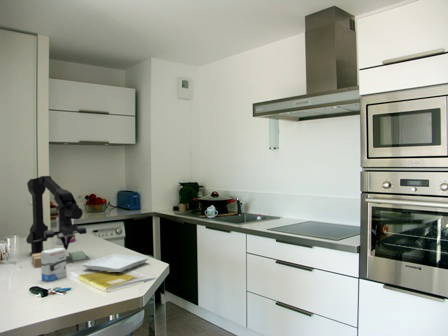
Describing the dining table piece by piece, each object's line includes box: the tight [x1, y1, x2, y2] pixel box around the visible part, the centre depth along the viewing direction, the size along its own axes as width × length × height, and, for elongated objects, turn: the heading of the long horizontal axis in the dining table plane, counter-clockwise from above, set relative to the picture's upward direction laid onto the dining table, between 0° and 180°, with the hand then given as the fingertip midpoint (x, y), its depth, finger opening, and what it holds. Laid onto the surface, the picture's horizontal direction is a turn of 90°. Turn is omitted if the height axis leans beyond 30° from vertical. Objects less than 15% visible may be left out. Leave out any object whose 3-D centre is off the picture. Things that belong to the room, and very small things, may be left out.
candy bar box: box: [55, 216, 76, 246], centre depth 228 cm, size 11×5×16 cm, turn 168°
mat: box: [66, 253, 91, 264], centre depth 189 cm, size 13×12×1 cm
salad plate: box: [82, 253, 149, 273], centre depth 172 cm, size 21×21×3 cm
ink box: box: [40, 247, 68, 283], centre depth 157 cm, size 8×5×12 cm, turn 148°
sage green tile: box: [68, 249, 86, 260], centre depth 189 cm, size 9×6×2 cm, turn 34°
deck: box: [31, 253, 41, 268], centre depth 182 cm, size 12×13×4 cm
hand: (66, 249), depth 187 cm, fingers closed
